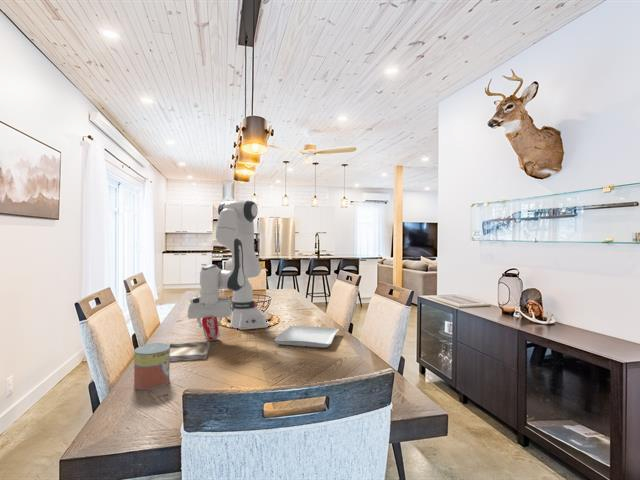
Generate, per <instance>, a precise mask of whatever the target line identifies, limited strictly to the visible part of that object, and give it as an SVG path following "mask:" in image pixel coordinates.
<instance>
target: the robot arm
mask: <svg viewBox="0 0 640 480" xmlns="http://www.w3.org/2000/svg"><path fill="white" fill-rule="evenodd" d="M217 214H218V218H217V221H216V222H217V223H216V228H215V240H216V242H218V244H220V245H221V246H222V247H224V248H226V249H227V250H229V251H230V253H231V258H229V259H227V260H226V262H225V265H224V269H225V270H224V269H221V268H219V267H218V265H217V264H206V265H203V266H202V267H201V269H200V273H199V285H200V286H199V287H200V290H199V294H198V295H195V296H193V297H191V299H190V302H189V303H190V304H189V305H188V308H187V309H188V310H187V318H188V319H196V321H197V323H198V324H199V328H203V324H202V319H203V317H209V316H212V315H213V316H214V317H217V318H218V319H219V320H218V327H220V326H221V322H222V320H223V318H226V317H230V316H231V319H230V323H229V327H230V326H231V327H230V328H232V327H233V329H237V328H238V330H241V331H242V330H251V329H252V330H253V329H264V328H268V326H269V327H270V322H269V321H268V320H267V318H266V314H265V313H264V312H263V311H262V310H261V309H259V308H258V307H257V305H258V303H257V301H255V300H253V295H254V294H253V292H254V291H253V290H254V289H253V288H254V287H253V286H252V285H251V283H250V281H249V279H251V278H256V277H258V276H260V274H261V273H262V268H263V267H262V263H261V262H260V261H259V260H258V257H257V254H256V251H255V224H254V220H255V219H256V217H257V215H258V206H257V203H256V202H254V201H252V200H242V199H241V200H240V199H239V200H231V201H230V200H226V201H222V202H220V204H219V205H218V207H217ZM219 289H221V290H230V291H232V299H231V298H229V297H227V296H226V297H220V290H219ZM266 321H267V322H266Z"/></svg>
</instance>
